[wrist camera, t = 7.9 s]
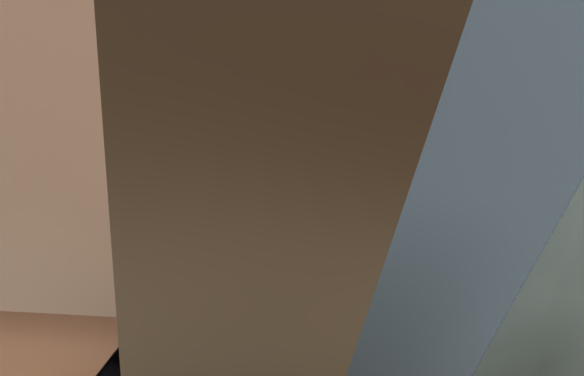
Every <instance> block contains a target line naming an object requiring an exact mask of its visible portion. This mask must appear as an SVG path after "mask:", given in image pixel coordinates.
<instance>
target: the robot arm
mask: <svg viewBox="0 0 584 376" xmlns="http://www.w3.org/2000/svg"><path fill="white" fill-rule="evenodd" d="M96 376H121V373H120V359H119V347H118V348H117V349H116V351H115V352H114V353H113V354H112V356H111V357H110V358H109V359H108V361H107V362H106V363H105V364H104V366H103V367H102V368H101V370H100V371H99V372H98V373H97V375H96Z"/></svg>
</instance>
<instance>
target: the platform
mask: <svg viewBox="0 0 584 376" xmlns="http://www.w3.org/2000/svg"><path fill="white" fill-rule="evenodd" d="M583 178H584V0H473V3H472V6H471V9H470V12H469V15H468V18H467V20H466V23H465V26H464V29H463V32H462V35H461V38H460V41H459V44H458V47H457V50H456V53H455V56H454V59H453V62H452V65H451V68H450V71H449V74H448V77H447V80H446V82H445V85H444V88H443V91H442V94H441V97H440V100H439V103H438V106H437V109H436V112H435V115H434V118H433V121H432V124H431V127H430V130H429V133H428V136H427V139H426V142H425V144H424V147H423V150H422V153H421V156H420V159H419V162H418V165H417V168H416V171H415V174H414V177H413V180H412V183H411V186H410V189H409V192H408V195H407V198H406V201H405V204H404V206H403V209H402V212H401V215H400V218H399V221H398V224H397V227H396V230H395V233H394V236H393V239H392V242H391V245H390V248H389V251H388V254H387V257H386V260H385V263H384V266H383V268H382V271H381V274H380V277H379V280H378V283H377V286H376V289H375V292H374V295H373V298H372V301H371V304H370V307H369V310H368V313H367V316H366V319H365V322H364V325H363V328H362V330H361V333H360V336H359V339H358V342H357V345H356V348H355V351H354V354H353V357H352V360H351V363H350V366H349V369H348V372H347V375H346V376H472V374H473V373H474V371H475V369H476V367H477V365H478V364H479V362H480V360H481V358H482V357H483V355H484V353H485V351H486V349H487V348H488V346H489V344H490V342H491V341H492V339H493V337H494V335H495V334H496V332H497V330H498V328H499V326H500V325H501V323H502V321H503V319H504V318H505V316H506V314H507V312H508V310H509V309H510V307H511V305H512V303H513V302H514V300H515V298H516V296H517V295H518V293H519V291H520V289H521V287H522V286H523V284H524V282H525V280H526V279H527V277H528V275H529V273H530V272H531V270H532V268H533V266H534V264H535V263H536V261H537V259H538V257H539V256H540V254H541V252H542V250H543V248H544V247H545V245H546V243H547V241H548V240H549V238H550V236H551V234H552V233H553V231H554V229H555V227H556V225H557V224H558V222H559V220H560V218H561V217H562V215H563V213H564V211H565V209H566V208H567V206H568V204H569V202H570V201H571V199H572V197H573V195H574V194H575V192H576V190H577V188H578V186H579V185H580V183H581V181H582V179H583Z"/></svg>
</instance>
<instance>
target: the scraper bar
mask: <svg viewBox="0 0 584 376" xmlns="http://www.w3.org/2000/svg"><path fill="white" fill-rule="evenodd" d="M472 3H473V0H94V11H95V24H96V38H97V52H98V66H99V80H100V94H101V108H102V122H103V136H104V150H105V164H106V178H107V192H108V206H109V220H110V234H111V248H112V261H113V275H114V289H115V303H116V317H117V331H118V345H119V359H120V373H121V376H346V375H347V372H348V369H349V366H350V363H351V360H352V357H353V354H354V351H355V348H356V345H357V342H358V339H359V336H360V333H361V330H362V328H363V325H364V322H365V319H366V316H367V313H368V310H369V307H370V304H371V301H372V298H373V295H374V292H375V289H376V286H377V283H378V280H379V277H380V274H381V271H382V268H383V266H384V263H385V260H386V257H387V254H388V251H389V248H390V245H391V242H392V239H393V236H394V233H395V230H396V227H397V224H398V221H399V218H400V215H401V212H402V209H403V206H404V204H405V201H406V198H407V195H408V192H409V189H410V186H411V183H412V180H413V177H414V174H415V171H416V168H417V165H418V162H419V159H420V156H421V153H422V150H423V147H424V144H425V142H426V139H427V136H428V133H429V130H430V127H431V124H432V121H433V118H434V115H435V112H436V109H437V106H438V103H439V100H440V97H441V94H442V91H443V88H444V85H445V82H446V80H447V77H448V74H449V71H450V68H451V65H452V62H453V59H454V56H455V53H456V50H457V47H458V44H459V41H460V38H461V35H462V32H463V29H464V26H465V23H466V20H467V18H468V15H469V12H470V9H471V6H472Z"/></svg>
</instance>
